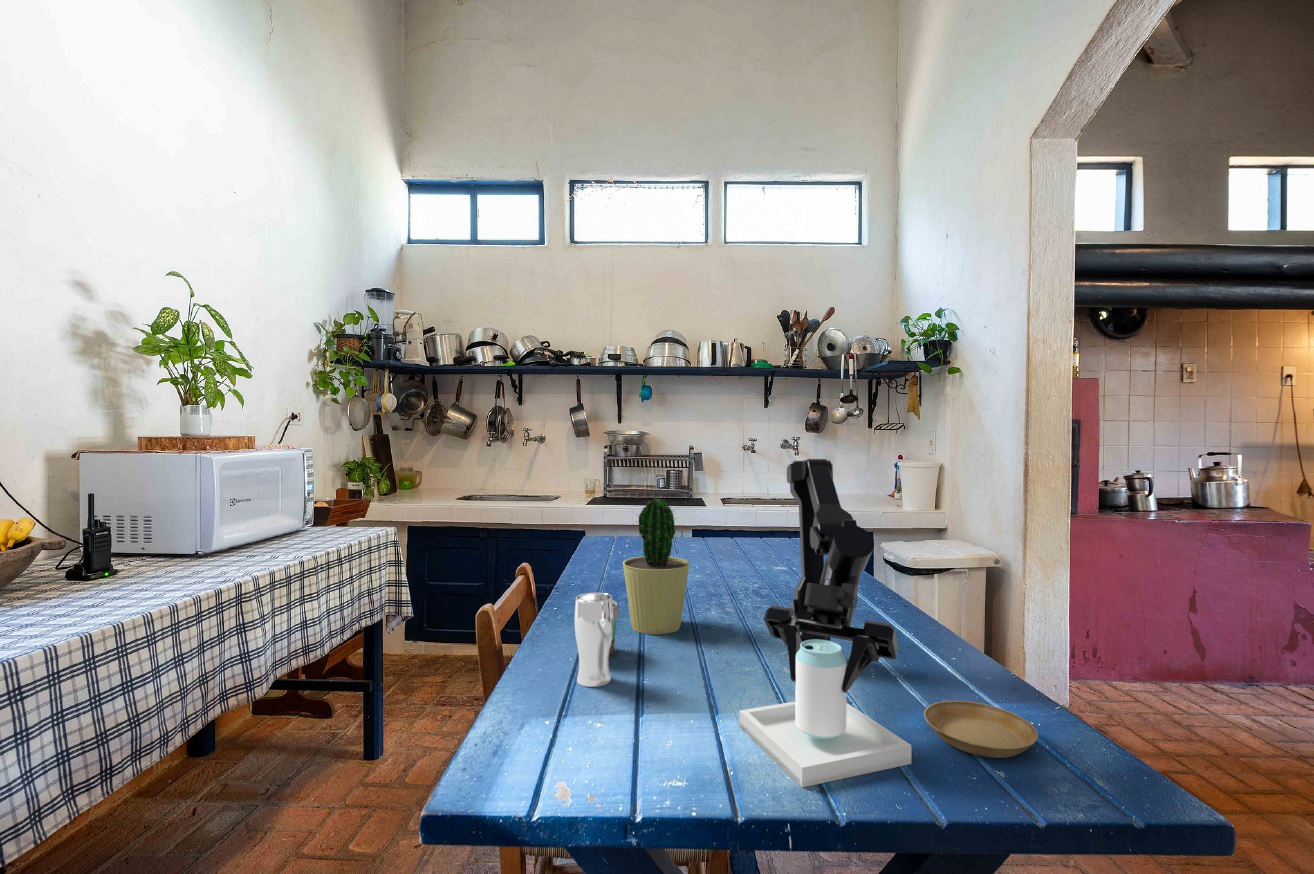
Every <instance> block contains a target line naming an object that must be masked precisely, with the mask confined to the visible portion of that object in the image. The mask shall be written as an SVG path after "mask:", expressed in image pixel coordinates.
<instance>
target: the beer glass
mask: <svg viewBox="0 0 1314 874" xmlns="http://www.w3.org/2000/svg"><path fill="white" fill-rule="evenodd" d="M612 600H613V596H612V595H611V594H610V593H605V592H585V593H581V594H578V595H577V596H576V597H575V605H574V606H575V607H574V633H575V635H574V636H575V641H576V646H577V652H578V653H577V654H578V670H577V677H576V683H577V684H578V685H579V686H581V687H585V688H599V687H603V686H606V685H608V684H609V683H610V682H611V681H612V676H611V670H610V665H609V664H610V660H609V659H610V658H609V652H610V646H611V640H612V634H613V621H614V619H613V602H612Z"/></svg>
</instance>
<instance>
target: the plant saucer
mask: <svg viewBox="0 0 1314 874" xmlns="http://www.w3.org/2000/svg"><path fill="white" fill-rule="evenodd" d="M923 716H924V719H925V721H926V722H927V723H928V726H929V727H930V728H931V730H933V732H934V733H935V734H937V735H938V737H939V738H941V740H943V742H945V743H947V744H948V745H950V746H951V747H954V748H956V749H958V750H960V751H962V752H966V753H969V754H972V755H976V756H979V757H986V758H996V759H997V758H998V759H1001V758H1011V757H1015V756H1017V755H1019V754H1022V753H1023V752H1025V751H1026V750H1029V748H1031V747H1032V746H1033V745H1034V744H1035V743H1036V742H1037V741H1038V739H1039V733H1038V730H1037V729H1036V728H1035V727H1034V725H1033V724H1032V723H1031V722H1029V721H1028V720H1026V719H1025V718H1023V717H1021V716H1020V715H1018V714H1016V713H1013V712H1012V711H1008V710H1006V709H1004V708H1001V707H998V706H994V705H989V704H986V703H981V702H974V701H968V700H967V701H966V700H945V701H939V702H935V703H932V704H930V705H928V706H927V707H926V708H925V709H924V712H923Z"/></svg>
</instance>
